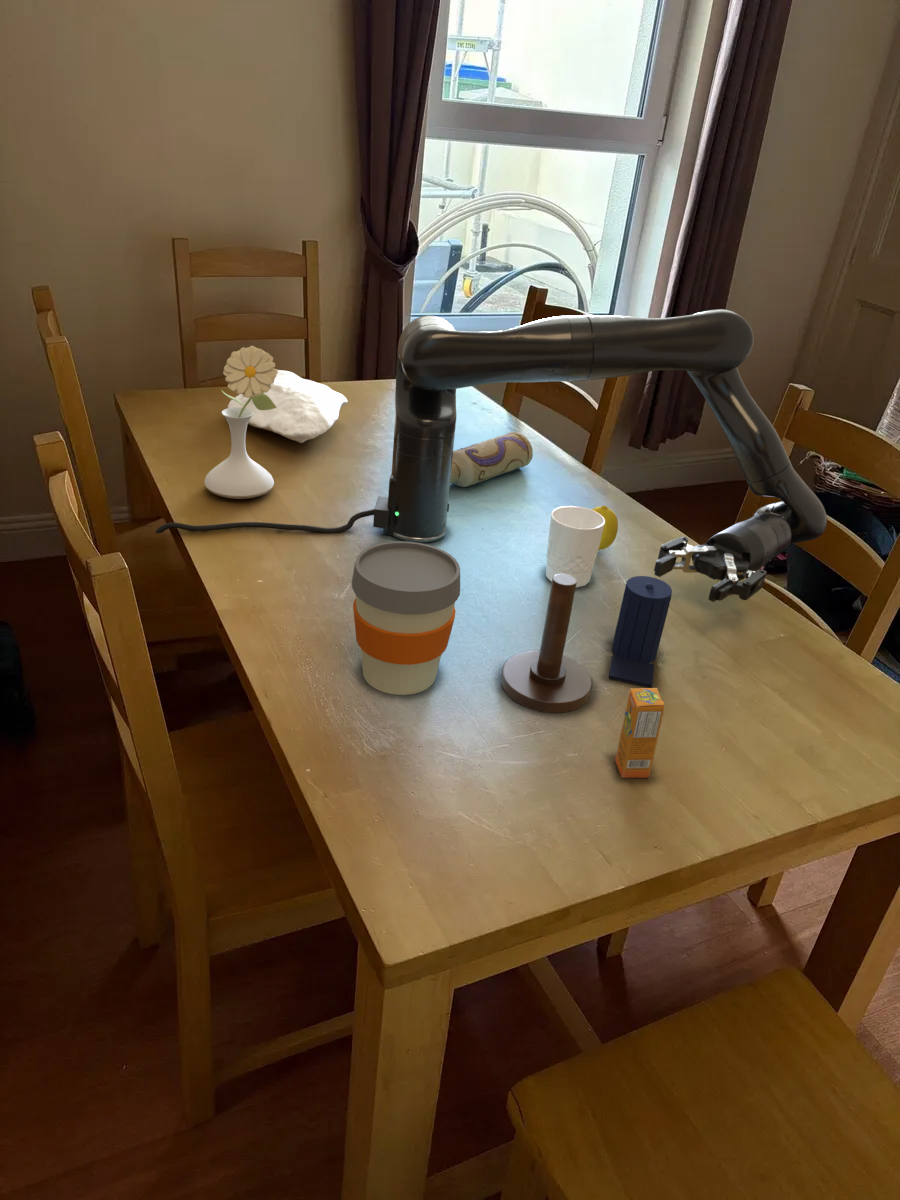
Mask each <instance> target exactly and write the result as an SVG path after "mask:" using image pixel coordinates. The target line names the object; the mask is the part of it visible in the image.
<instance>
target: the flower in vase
mask: <svg viewBox="0 0 900 1200" xmlns="http://www.w3.org/2000/svg"><path fill="white" fill-rule="evenodd" d="M273 361H274V357H273V356H272V355H271V354H270V353H269V352H266V351H265V350H263V349H262V348H258V347H255V346H254V345H250V346H249V347H241V348H239V350H237V351H235V350H233V351H232V352H231V353H230V356H229V358H227V359H226V363H225V365H224V366H223V371H222V374H223V375H224V377H225V379H224V380H225V382H226V383H228V384H227V388H228V389H229V390H231V391H232V392H235V393H236V394H237V395H240V394H242V395H243V396H244V397H246V398H249V400H248V401H247V402H246V404H245V405H244V406H243V408H239V407H234V408H228V407H227V408H225V409H223V410H221V415H222V416H223V417H224V419H225V421H226V422H227V424H228V427H229V433H230V441H231V449H230V453H229V456H228V457H227V458H225V459H224V460H223V461H221V462H220V463H218V464H217V465H216V466H214V467H213V468H212V469H211V470H210V471H209V472H208V473H207V474H206V476H205V478H204V482H203V484H204V486H205V487H206V489H207V490H208V491H209V492H211V493H212V494H213V495H216V496H218V497H223V498H227V499H236V500H244V499H245V500H246V499H253V498H257V497H261V496H263V495H266V494H268V493H269V492H270V491H271V490H272V489H273V488H274V485H275V480H274V478H273V475H272V474H271V473H270V472H269V471H268V470H267V469H266V468H265V467H263V466H262V465H260V464H259V463H258V462H256V461H254V460H253V459H252V458H251V457H250V456H249V454H248V453H247V449H246V435H247V428H248V425H249V424H248V422H249V420H250V418H251V417H252V416H253V414H254V413H253V411H251V410H249V409H246V408H245V407H246V406H247V405H248V403H249V402H250V400H251V399H252V401H253V403H254V405H255V407H256V408H257V409H258V410H269V409H274V408H276V406H275V404H274V403H273V402H272V400H271V399H270V398H269V397H268V396H267V395H265V394H264V393H265V392H268V391H269V389H270V388H271V384H272V383H274V381H275V380H274V378H276V374H277V373H278V371H277V370H278V369H276V363H275V362H273ZM221 393H223V395H225V396H226V397H227V398H229V399H231V400H234V401H236V402H238V403H240V404H242V403H241V402H240V401H239V400H237V399H236V398H235V397H234V396H232V395H229V394H227V393H225V391H223V390H221ZM242 405H243V404H242Z"/></svg>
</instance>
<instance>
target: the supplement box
mask: <svg viewBox="0 0 900 1200" xmlns="http://www.w3.org/2000/svg"><path fill="white" fill-rule="evenodd" d="M665 706H666V704H665V702H664V701H663V699H662V697H661V696H660V693H659V689H658V687H651V688H650V687H637V688H635V687H634V688H629V693H628V698H627V703H626V708H625V711H624V715H623V716H624V717H623V721H622V726H621V731H620V735H619V740H618V745H617V750H616V755H615V758H614V761H615V763H616V767H617V769H618V772H619V775H620V777H621V778H622V779H647V778H649V777H650V775H651V770H652V766H653V763H654V758H655V754H656V749H657V745H658V740H659V735H660V731H661V727H662V723H663V722H662V721H663V717H664V712H665Z"/></svg>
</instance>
